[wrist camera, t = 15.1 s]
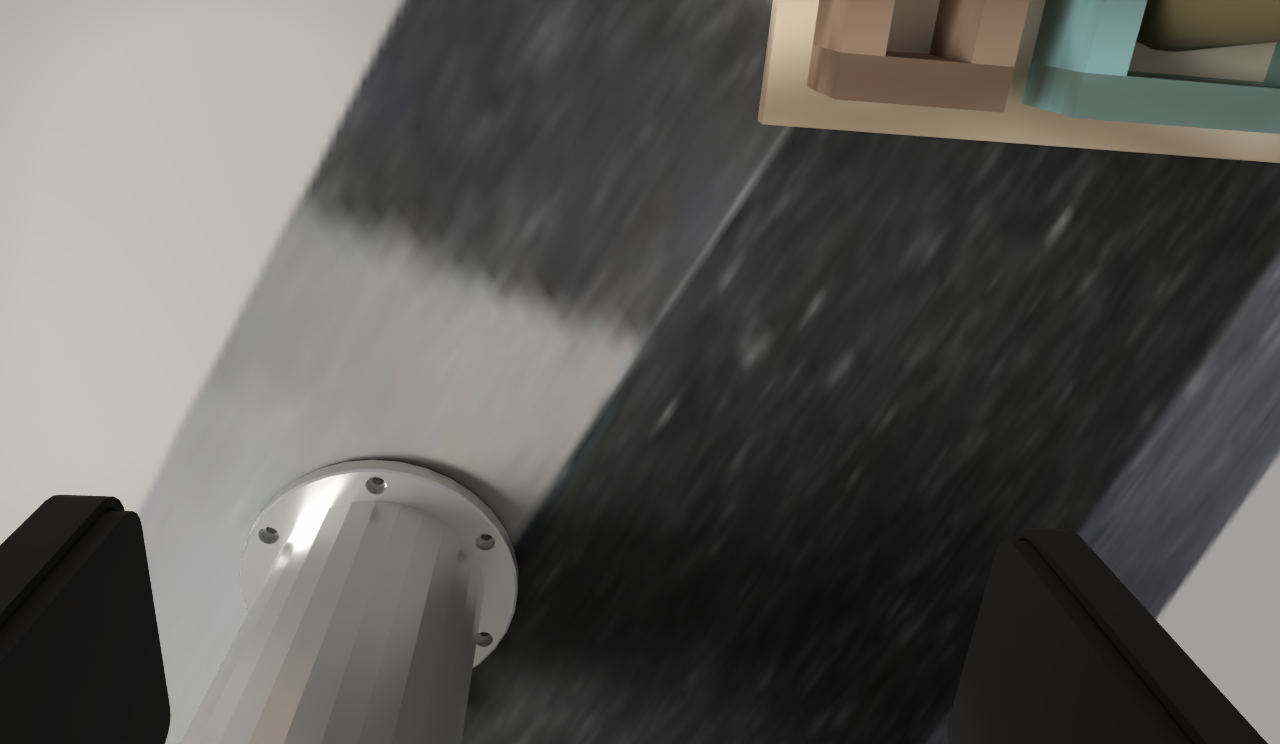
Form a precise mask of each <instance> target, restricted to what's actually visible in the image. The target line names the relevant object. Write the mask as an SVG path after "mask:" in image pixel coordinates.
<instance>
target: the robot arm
mask: <svg viewBox="0 0 1280 744" xmlns="http://www.w3.org/2000/svg"><path fill="white" fill-rule="evenodd" d="M376 477H378V478H381V479H382V480H380V479H377V478H376ZM485 534H488V535H485ZM239 580H240V589H241V596H242V599H243V602H244V605H245V608H246V610H247V613H248V614H247V616H246V618H245V620H244V621H243V623H242V625H241V627H240V629H239V631H238V633H237V635H236V637H235V639H234V641H233V643H232V645H231V647H230V649H229V650H228V652H227V654H226V656H225V658H224V660H223V662H222V664H221V666H220V668H219V670H218V672H217V674H216V676H215V677H214V679H213V681H212V683H211V685H210V687H209V689H208V691H207V693H206V695H205V697H204V699H203V701H202V703H201V705H200V706H199V708H198V710H197V712H196V714H195V716H194V718H193V720H192V722H191V724H190V726H189V728H188V730H187V732H186V734H185V735H184V737H183V739H182V741H181V743H180V744H461V743H462V736H463V730H464V723H465V716H466V710H467V703H468V696H469V689H470V683H471V676H472V669H473V668H475V667H476V666H478V665H479V664H480V663H481V662H482V661H483V660H484V659H485V658H486V657H487V656H488V655H490V654H491V653H492V652H493V651H494V650H495V648H496V647H497V645H498V644H499V643H500V641H501V640H502V638H503V637H504V635H505V634H506V632H507V630H508V628H509V625H510V623H511V620H512V618H513V615H514V613H515V607H516V600H517V593H518V566H517V561H516V556H515V551H514V548H513V546H512V543H511V541H510V539H509V537H508V534H507V532H506V530H505V528H504V527H503V526H502V524H501V523H500V521H499V520H498V519H497V517H496V516H495V514H494V513H493V512H492V510H491V509H490V508H489V507H488V506H486V505H485V504H484V503H483V502H482V501H481V500H480V499H479V498H478V497H477V496H476V495H475V494H474V493H472V492H471V491H469V490H468V489H466V488H465V487H463V486H462V485H460V484H458V483H457V482H455V481H454V480H452V479H450V478H448V477H446V476H443V475H441V474H439V473H436V472H434V471H432V470H429V469H427V468H423V467H419V466H415V465H411V464H407V463H403V462H396V461H383V460H363V461H351V462H343V463H340V464H336V465H332V466H328V467H324V468H320V469H318V470H316V471H314V472H312V473H309V474H307V475H305V476H303V477H301V478H299V479H297V480H295V481H294V482H293V483H291V484H290V485H288V486H287V487H286V488H284V489H283V490H282V491H280V492H279V493H278V494H276V496H275V497H274V498H273V499H272V500H271V501H270V502H269V504H268V505H267V506H266V507H265V508H264V509H263V510H262V512H261V513H260V515H259V516H258V518H257V520H256V521H255V523H254V525H253V526H252V528H251V530H250V532H249V534H248V537H247V539H246V542H245V544H244V547H243V549H242V552H241V560H240V568H239ZM169 725H170V705H169V698H168V692H167V685H166V679H165V673H164V666H163V660H162V653H161V647H160V640H159V634H158V628H157V621H156V615H155V608H154V602H153V595H152V589H151V583H150V576H149V570H148V563H147V557H146V550H145V544H144V538H143V531H142V525H141V521H140V518H139V516H138V515H137V513H135V512H133V511H124V507H123V505H122V504H121V502H120V500H119V499H117V498H115V497H106V496H76V495H56V496H52V497H51V498H49V499H48V500H46V501H45V502H44V503H43V504H42V505H41V506H40V507H39V508H38V509H37V510H36V511H35V512H34V513H33V514H32V515H31V516H30V517H29V518H28V519H27V520H26V521H25V522H24V523H23V524H22V525H21V526H20V527H19V528H18V529H17V530H16V531H14V533H12V534H11V535H10V536H9V537H8V538H7V539H6V540H5V541H4V543H2V544H1V545H0V744H165V741H166V738H167V735H168V730H169ZM948 740H949V744H1268V743H1267V742H1266V741H1265V740H1264V739H1263V738H1262V737H1261V736H1260V735H1259V734H1258V732H1257V731H1256V730H1255V729H1254V728H1253V727H1252V726H1251V725H1250V724H1249V722H1248V721H1247V720H1246V719H1245V718H1244V717H1243V716H1242V715H1241V714H1240V713H1239V711H1238V710H1237V709H1236V708H1235V707H1234V706H1233V705H1232V704H1231V703H1230V701H1229V700H1228V699H1227V698H1226V697H1225V696H1224V695H1223V694H1222V693H1221V692H1220V690H1219V689H1217V687H1216V686H1215V685H1214V684H1213V683H1212V682H1211V681H1210V679H1209V678H1208V677H1207V676H1206V675H1205V674H1204V673H1203V672H1202V671H1201V669H1199V667H1198V666H1197V665H1196V664H1195V663H1194V662H1193V661H1192V660H1191V659H1190V658H1189V656H1188V655H1187V654H1186V653H1185V652H1184V651H1183V650H1182V649H1181V647H1180V646H1179V645H1178V644H1177V643H1176V642H1175V641H1174V640H1173V639H1172V637H1171V636H1170V635H1169V634H1168V633H1167V632H1166V631H1165V630H1164V629H1163V628H1162V626H1161V625H1160V624H1159V623H1158V622H1157V621H1156V620H1155V619H1154V618H1153V616H1152V615H1151V614H1150V613H1149V612H1148V611H1147V610H1146V609H1145V608H1144V607H1143V605H1142V604H1141V603H1140V602H1139V601H1138V600H1137V599H1136V598H1135V597H1134V595H1133V594H1132V593H1131V592H1130V591H1129V590H1128V589H1127V588H1126V587H1125V586H1124V584H1123V583H1122V582H1121V581H1120V580H1119V579H1118V578H1117V577H1116V576H1115V574H1114V573H1113V572H1112V571H1111V570H1110V569H1109V568H1108V567H1107V566H1106V565H1105V563H1104V562H1103V561H1102V560H1101V559H1100V558H1099V557H1098V556H1097V555H1096V554H1095V552H1094V551H1093V550H1092V549H1091V548H1090V547H1089V546H1088V545H1087V544H1086V542H1085V541H1084V540H1083V539H1082V538H1081V537H1080V536H1079V535H1078V534H1076V533H1075V532H1074V531H1070V530H1056V529H1027V528H1022V529H1020V530H1017V531H1016V532H1015V533H1014V535H1013V536H1012V537H1011V540H1010V541H1003V542H1001V543H1000V544H999V546H998V547H997V550H996V552H995V556H994V559H993V563H992V566H991V570H990V574H989V577H988V581H987V584H986V588H985V592H984V595H983V599H982V603H981V606H980V610H979V613H978V617H977V621H976V624H975V628H974V631H973V635H972V639H971V642H970V646H969V649H968V653H967V657H966V660H965V664H964V667H963V671H962V675H961V678H960V682H959V685H958V689H957V693H956V696H955V700H954V703H953V707H952V711H951V714H950V718H949V723H948Z"/></svg>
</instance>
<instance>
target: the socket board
mask: <svg viewBox="0 0 1280 744" xmlns="http://www.w3.org/2000/svg"><path fill="white" fill-rule="evenodd" d="M1146 4H1147V0H773V4H772V12H771V20H770V27H769V35H768V43H767V51H766V59H765V67H764V74H763V82H762V90H761V98H760V106H759V114H758V121H759V122H760V123H761V124H767V125H780V126H793V127H807V128H820V129H833V130H847V131H860V132H874V133H887V134H900V135H914V136H927V137H941V138H954V139H967V140H981V141H994V142H1008V143H1021V144H1034V145H1048V146H1061V147H1074V148H1088V149H1101V150H1115V151H1128V152H1141V153H1155V154H1168V155H1182V156H1195V157H1208V158H1222V159H1235V160H1249V161H1262V162H1275V163H1280V42H1272V43H1262V44H1252V45H1242V46H1232V47H1221V48H1211V49H1201V50H1191V51H1181V52H1173V51H1161V50H1153V49H1151V48H1149V47H1147V46H1145V45H1143V44H1141V43H1139V42H1137V41H1136V40H1137V36H1138V33H1139V29H1140V25H1141V22H1142V18H1143V14H1144V11H1145V7H1146Z"/></svg>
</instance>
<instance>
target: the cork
mask: <svg viewBox="0 0 1280 744" xmlns="http://www.w3.org/2000/svg"><path fill="white" fill-rule="evenodd" d="M1136 41H1137V42H1139V43H1141V44H1143V45H1145V46H1147V47H1149V48H1151V49H1153V50H1161V51H1173V52H1181V51H1191V50H1201V49H1211V48H1221V47H1232V46H1242V45H1252V44H1262V43H1272V42H1280V0H1147V4H1146V7H1145V11H1144V14H1143V18H1142V22H1141V25H1140V29H1139V33H1138V36H1137V40H1136Z"/></svg>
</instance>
